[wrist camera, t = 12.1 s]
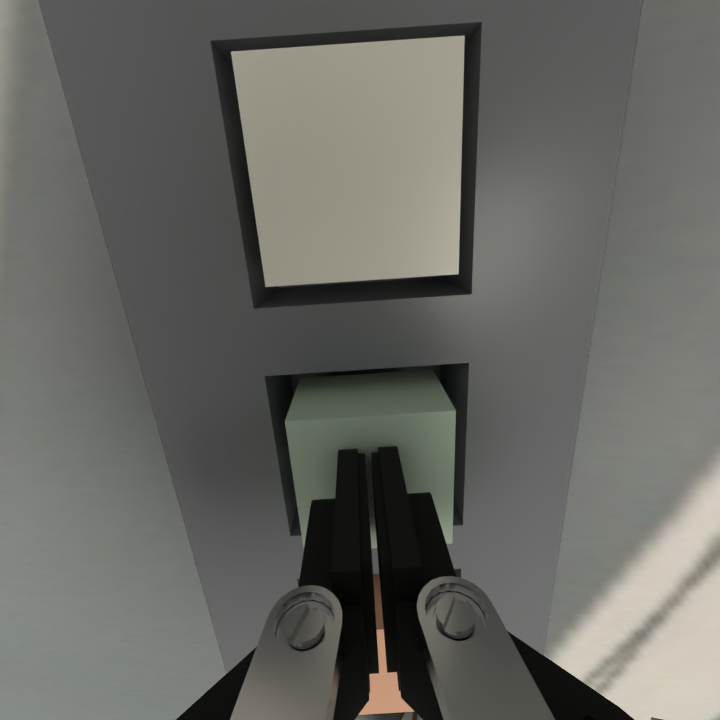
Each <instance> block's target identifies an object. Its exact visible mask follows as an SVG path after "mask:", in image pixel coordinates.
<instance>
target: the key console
mask: <svg viewBox="0 0 720 720" xmlns="http://www.w3.org/2000/svg"><path fill="white" fill-rule="evenodd" d="M38 1H39V5H40V8H41V12H42V15H43V19H44V22H45V26H46V30H47V33H48V37H49V40H50V44H51V47H52V51H53V55H54V58H55V62H56V65H57V69H58V73H59V76H60V80H61V83H62V87H63V90H64V94H65V98H66V101H67V105H68V108H69V112H70V115H71V119H72V123H73V126H74V130H75V133H76V137H77V141H78V144H79V148H80V151H81V155H82V158H83V162H84V166H85V169H86V173H87V176H88V180H89V183H90V187H91V191H92V194H93V198H94V201H95V205H96V209H97V212H98V216H99V219H100V223H101V226H102V230H103V234H104V237H105V241H106V244H107V248H108V251H109V255H110V259H111V262H112V266H113V269H114V273H115V277H116V280H117V284H118V287H119V291H120V294H121V298H122V302H123V305H124V309H125V312H126V316H127V319H128V323H129V327H130V330H131V334H132V337H133V341H134V344H135V348H136V352H137V355H138V359H139V362H140V366H141V370H142V373H143V377H144V380H145V384H146V387H147V391H148V395H149V398H150V402H151V405H152V409H153V412H154V416H155V420H156V423H157V427H158V430H159V434H160V438H161V441H162V445H163V448H164V452H165V455H166V459H167V463H168V466H169V470H170V473H171V477H172V480H173V484H174V488H175V491H176V495H177V498H178V502H179V506H180V509H181V513H182V516H183V520H184V523H185V527H186V531H187V534H188V538H189V541H190V545H191V548H192V552H193V556H194V559H195V563H196V566H197V570H198V574H199V577H200V581H201V584H202V588H203V591H204V595H205V599H206V602H207V606H208V609H209V613H210V616H211V620H212V624H213V627H214V631H215V634H216V638H217V642H218V645H219V649H220V652H221V656H222V659H223V663H224V667H225V670H226V674H227V673H228V672H229V671H230V670H231V669H233V668H234V667H235V666H236V665H237V664H238V663H239V662H240V661H241V660H242V659H244V658H245V657H246V656H247V655H248V654H249V653H250V652H251V651H252V650H253V649H255V648H256V647H257V645H258V642H259V639H260V636H261V634H262V631H263V628H264V625H265V623H266V620H267V617H268V615H269V613H270V611H271V609H272V608H273V606H274V605H275V603H276V602H277V601H278V600H279V599H280V598H281V597H282V596H283V595H285V594H286V593H288V592H289V591H291V590H293V589H295V588H298V586H299V580H300V573H301V566H302V559H303V553H304V548H303V542H302V535H301V528H300V521H299V515H298V508H297V501H296V494H295V488H294V481H293V474H292V467H291V461H290V454H289V447H288V440H287V434H286V427H285V419H286V417H287V414H288V411H289V408H290V405H291V402H292V400H293V397H294V394H295V391H296V388H297V385H298V383H299V380H300V378H309V377H325V376H340V375H355V374H370V373H386V372H401V371H416V370H431V369H433V371H434V373H435V374H436V376H437V378H438V380H439V381H440V383H441V385H442V387H443V389H444V390H445V392H446V394H447V396H448V397H449V399H450V401H451V403H452V404H453V406H454V408H455V410H456V426H455V464H454V502H453V540H452V543H451V544H447V548H448V551H449V554H450V558H451V561H452V564H453V568H454V571H455V574H456V577H459V578H464V579H466V580H468V581H470V582H472V583H474V584H475V585H477V586H478V587H479V588H480V589H481V590H483V591H484V592H485V594H486V595H487V596H488V598H489V599H490V601H491V602H492V604H493V606H494V608H495V609H496V611H497V613H498V615H499V617H500V619H501V621H502V622H503V624H504V626H505V628H506V630H507V631H508V632H510V633H511V634H513V635H514V636H516V637H517V638H518V639H520V640H521V641H523V642H524V643H526V644H527V645H529V646H530V647H532V648H533V649H535V650H536V651H538V652H539V653H540V654H542V655H543V654H544V647H545V641H546V634H547V628H548V621H549V614H550V608H551V601H552V595H553V588H554V581H555V575H556V568H557V562H558V555H559V549H560V542H561V535H562V529H563V522H564V516H565V509H566V502H567V496H568V489H569V483H570V476H571V469H572V463H573V456H574V450H575V443H576V437H577V430H578V423H579V417H580V410H581V404H582V397H583V390H584V384H585V377H586V371H587V364H588V358H589V351H590V344H591V338H592V331H593V325H594V318H595V311H596V305H597V298H598V292H599V285H600V279H601V272H602V265H603V259H604V252H605V246H606V239H607V232H608V226H609V219H610V213H611V206H612V200H613V193H614V186H615V180H616V173H617V167H618V160H619V153H620V147H621V140H622V134H623V127H624V121H625V114H626V107H627V101H628V94H629V88H630V81H631V74H632V68H633V61H634V55H635V48H636V42H637V35H638V28H639V22H640V15H641V9H642V2H643V0H38ZM463 35H465V43H464V83H463V122H462V161H461V201H460V240H459V274H455V275H440V276H425V277H410V278H395V279H379V280H364V281H349V282H334V283H319V284H304V285H289V286H274V287H265V280H264V273H263V266H262V260H261V253H260V246H259V239H258V232H257V226H256V219H255V212H254V205H253V199H252V192H251V185H250V178H249V171H248V165H247V158H246V151H245V144H244V137H243V131H242V124H241V117H240V110H239V104H238V97H237V90H236V83H235V76H234V70H233V63H232V56H231V52H232V51H247V50H261V49H275V48H290V47H304V46H319V45H333V44H348V43H362V42H377V41H391V40H405V39H420V38H434V37H449V36H463ZM372 565H373V574H379V564H378V552H377V548H373V549H372Z"/></svg>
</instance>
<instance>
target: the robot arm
mask: <svg viewBox="0 0 720 720" xmlns="http://www.w3.org/2000/svg"><path fill="white" fill-rule="evenodd" d="M371 460H372V476H373V492H374V509H375V525H376V539H377V552H378V564H379V577H380V589H381V602H382V614H383V626H384V639H385V651H386V664H387V673H392V672H397V679H398V688H399V691H400V692H401V698H402V699H403V700H404V701H405V702H406V703H407V704H408V705H409V706H410V707H411V708H412V709H413V710H414V711H415V712H416V713H417V714H418V715H419V720H634V719H633V718H632V717H630V716H629V715H628V714H627V713H626V712H624V711H623V710H622V709H621V708H619V707H618V706H617V705H615V704H614V703H612V702H611V701H609V700H608V699H606V698H605V697H603V696H602V695H600V694H599V693H598V692H596V691H595V690H593V689H592V688H590V687H589V686H587V685H586V684H584V683H583V682H581V681H580V680H578V679H577V678H576V677H574V676H573V675H571V674H570V673H568V672H567V671H565V670H564V669H562V668H561V667H559V666H558V665H557V664H555V663H554V662H552V661H551V660H549V659H548V658H546V657H545V656H543V655H542V654H540V653H539V652H538V651H536V650H535V649H533V648H532V647H530V646H529V645H527V644H526V643H524V642H523V641H521V640H520V639H518V638H517V637H516V636H514V635H513V634H511V633H510V632H508V631H507V630H506V628H505V626H504V624H503V622H502V621H501V619H500V617H499V615H498V613H497V611H496V609H495V608H494V606H493V604H492V602H491V601H490V599H489V598H488V596H487V595H486V594H485V592H484V591H483V590H481V589H480V588H479V587H478V586H477V585H475V584H474V583H472V582H470V581H468V580H466V579H464V578H459V577H456V574H455V571H454V568H453V564H452V561H451V558H450V554H449V551H448V548H447V544H446V541H445V538H444V534H443V531H442V528H441V524H440V521H439V518H438V515H437V511H436V508H435V505H434V501H433V498H432V495H431V493H430V492H423V493H408V494H407V489H406V485H405V480H404V475H403V471H402V466H401V461H400V456H399V452H398V447H397V446H389V447H378V452H377V453H371ZM376 673H379V662H378V646H377V630H376V614H375V597H374V581H373V565H372V549H371V533H370V519H369V504H368V489H367V475H366V460H365V453H362V454H358V451H357V449H344V450H338V461H337V477H336V493H335V498H333V499H317V500H312V501H311V506H310V513H309V519H308V526H307V533H306V539H305V546H304V553H303V559H302V566H301V573H300V580H299V586H298V588H295V589H293V590H291V591H289V592H288V593H286V594H285V595H283V596H282V597H281V598H280V599H279V600H278V601H277V602H276V603H275V605H274V606H273V608H272V609H271V611H270V613H269V615H268V617H267V620H266V623H265V625H264V628H263V631H262V634H261V636H260V639H259V642H258V645H257V647H256V648H255V649H253V650H252V651H251V652H250V653H249V654H248V655H247V656H246V657H245V658H244V659H242V660H241V661H240V662H239V663H238V664H237V665H236V666H235V667H234V668H233V669H231V670H230V671H229V672H228V673H227V674H226V675H225V676H224V677H223V678H222V679H220V680H219V681H218V682H217V683H216V684H215V685H214V686H213V687H212V688H211V689H209V690H208V691H207V692H206V693H205V694H204V695H203V696H202V697H201V698H199V699H198V700H197V701H196V702H195V703H194V704H193V705H192V706H191V707H190V708H188V709H187V710H186V711H185V712H184V713H183V714H182V715H181V716H180V717H179V718H177V719H176V720H355V718H356V717H357V716H358V714H359V713H360V712H361V710H362V709H363V708H364V706H365V705H366V704H367V702H368V701H369V693H370V674H376ZM651 720H662V719H657V718H652V717H651Z"/></svg>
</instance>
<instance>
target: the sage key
mask: <svg viewBox="0 0 720 720" xmlns="http://www.w3.org/2000/svg"><path fill="white" fill-rule="evenodd" d="M455 426H456V410H455V408H454V406H453V404H452V403H451V401H450V399H449V397H448V396H447V394H446V392H445V390H444V389H443V387H442V385H441V383H440V381H439V380H438V378H437V376H436V374H435V373H434V371H433V369H431V370H416V371H401V372H386V373H370V374H355V375H340V376H325V377H309V378H300V380H299V383H298V385H297V388H296V391H295V394H294V397H293V400H292V402H291V405H290V408H289V411H288V414H287V417H286V419H285V427H286V434H287V440H288V447H289V454H290V461H291V467H292V474H293V481H294V488H295V494H296V501H297V508H298V515H299V521H300V528H301V535H302V542H303V548H304V546H305V539H306V533H307V526H308V519H309V513H310V506H311V501H312V500H317V499H333V498H335V493H336V477H337V461H338V450H344V449H357V451H358V454H362V453H365V460H366V475H367V489H368V504H369V519H370V533H371V549H373V548H377V539H376V525H375V509H374V492H373V476H372V460H371V453H377V452H378V447H389V446H397V447H398V452H399V456H400V461H401V466H402V471H403V475H404V480H405V485H406V489H407V494H408V493H423V492H430V493H431V495H432V498H433V501H434V505H435V508H436V511H437V515H438V518H439V521H440V524H441V528H442V531H443V534H444V538H445V541H446V544H451V543H452V540H453V502H454V464H455Z"/></svg>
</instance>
